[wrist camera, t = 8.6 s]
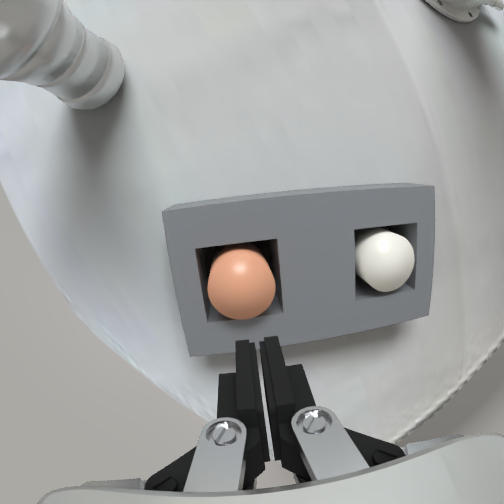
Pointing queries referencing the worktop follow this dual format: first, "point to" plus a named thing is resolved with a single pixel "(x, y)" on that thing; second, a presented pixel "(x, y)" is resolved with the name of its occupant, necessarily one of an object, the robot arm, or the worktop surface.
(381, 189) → the grey two-hole block
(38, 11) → the plastic bottle
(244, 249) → the terracotta button
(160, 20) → the worktop surface
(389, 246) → the ivory button
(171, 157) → the worktop surface
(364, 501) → the robot arm
